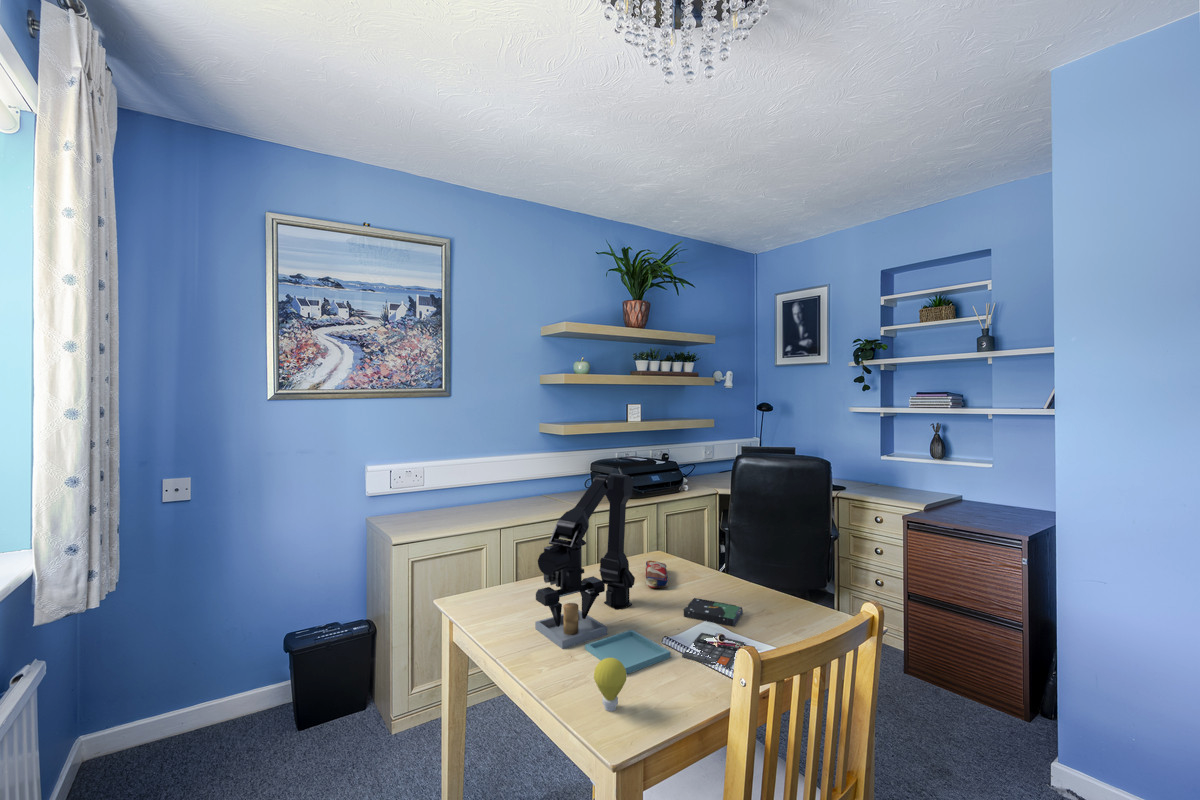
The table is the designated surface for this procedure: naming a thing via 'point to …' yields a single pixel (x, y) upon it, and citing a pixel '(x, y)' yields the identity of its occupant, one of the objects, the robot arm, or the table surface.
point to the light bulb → (610, 681)
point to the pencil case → (656, 574)
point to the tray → (629, 650)
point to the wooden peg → (571, 618)
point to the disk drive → (713, 612)
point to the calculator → (713, 651)
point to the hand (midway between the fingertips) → (571, 622)
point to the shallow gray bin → (586, 632)
